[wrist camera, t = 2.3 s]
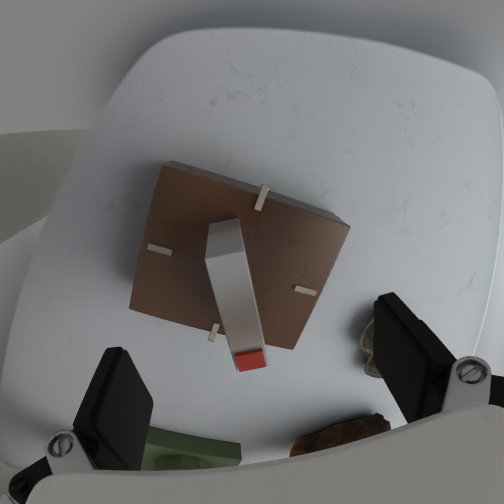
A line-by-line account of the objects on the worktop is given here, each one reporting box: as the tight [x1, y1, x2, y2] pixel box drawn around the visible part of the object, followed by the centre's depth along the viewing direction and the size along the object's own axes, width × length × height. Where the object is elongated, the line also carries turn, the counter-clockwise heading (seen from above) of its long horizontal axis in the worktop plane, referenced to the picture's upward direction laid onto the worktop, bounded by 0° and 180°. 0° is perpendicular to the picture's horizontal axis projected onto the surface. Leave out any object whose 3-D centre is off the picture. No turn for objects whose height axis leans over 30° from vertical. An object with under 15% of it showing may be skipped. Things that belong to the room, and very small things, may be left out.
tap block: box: [129, 161, 350, 350], centre depth 19 cm, size 11×10×3 cm
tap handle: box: [205, 218, 269, 372], centre depth 16 cm, size 6×2×5 cm, turn 11°
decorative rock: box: [289, 413, 391, 457], centre depth 24 cm, size 12×6×11 cm, turn 106°
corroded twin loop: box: [359, 315, 382, 378], centre depth 24 cm, size 5×8×1 cm, turn 24°
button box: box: [141, 427, 242, 471], centre depth 27 cm, size 10×8×4 cm
